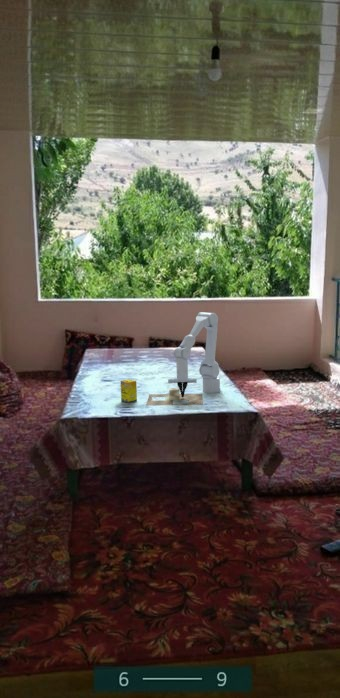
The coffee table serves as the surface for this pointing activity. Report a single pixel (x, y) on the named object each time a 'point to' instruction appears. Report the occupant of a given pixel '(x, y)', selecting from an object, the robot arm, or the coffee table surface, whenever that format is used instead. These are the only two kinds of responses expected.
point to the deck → (193, 399)
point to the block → (174, 394)
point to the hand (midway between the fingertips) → (182, 396)
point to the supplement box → (128, 391)
